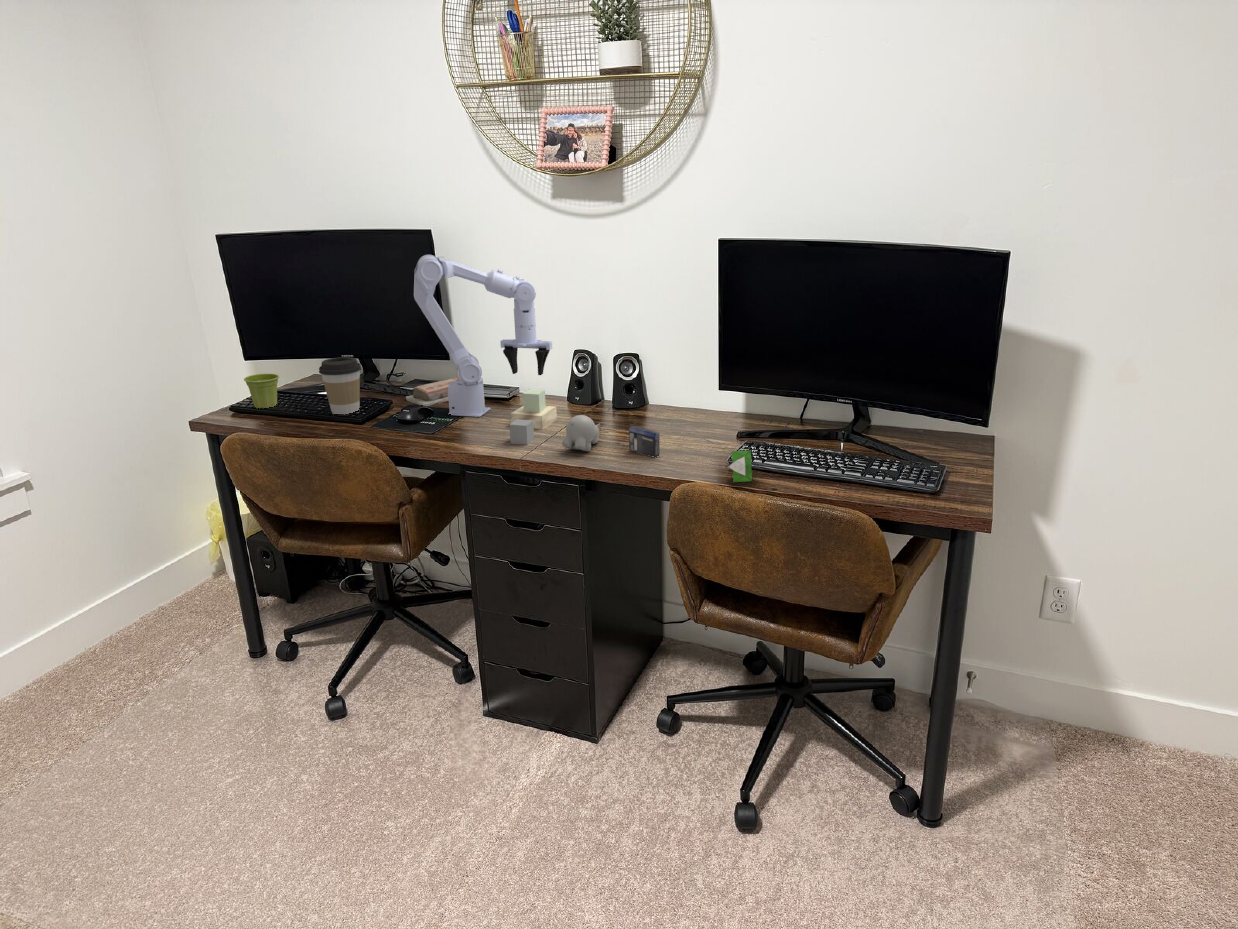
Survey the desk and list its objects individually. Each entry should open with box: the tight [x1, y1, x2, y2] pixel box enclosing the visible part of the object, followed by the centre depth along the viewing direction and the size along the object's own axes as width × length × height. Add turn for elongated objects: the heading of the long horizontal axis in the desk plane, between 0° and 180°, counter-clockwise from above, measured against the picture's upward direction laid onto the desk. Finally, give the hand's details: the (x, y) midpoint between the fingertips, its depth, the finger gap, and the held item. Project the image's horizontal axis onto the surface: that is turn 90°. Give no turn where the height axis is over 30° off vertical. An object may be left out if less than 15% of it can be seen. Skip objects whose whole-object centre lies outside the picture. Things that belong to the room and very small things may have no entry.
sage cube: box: [522, 388, 547, 413], centre depth 227 cm, size 4×4×5 cm
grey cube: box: [509, 419, 535, 446], centre depth 214 cm, size 4×4×5 cm
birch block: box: [510, 405, 558, 430], centre depth 228 cm, size 9×9×4 cm
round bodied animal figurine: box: [561, 414, 601, 452], centre depth 208 cm, size 7×12×8 cm, turn 147°
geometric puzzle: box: [724, 449, 760, 483], centre depth 186 cm, size 7×7×8 cm
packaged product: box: [405, 376, 459, 407], centre depth 254 cm, size 18×5×10 cm
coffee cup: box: [318, 356, 362, 415], centre depth 238 cm, size 11×11×15 cm
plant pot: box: [243, 373, 280, 409], centre depth 247 cm, size 9×9×9 cm
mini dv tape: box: [628, 425, 660, 458], centre depth 203 cm, size 8×2×6 cm, turn 48°
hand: (527, 373), depth 239 cm, fingers open, 7 cm apart
